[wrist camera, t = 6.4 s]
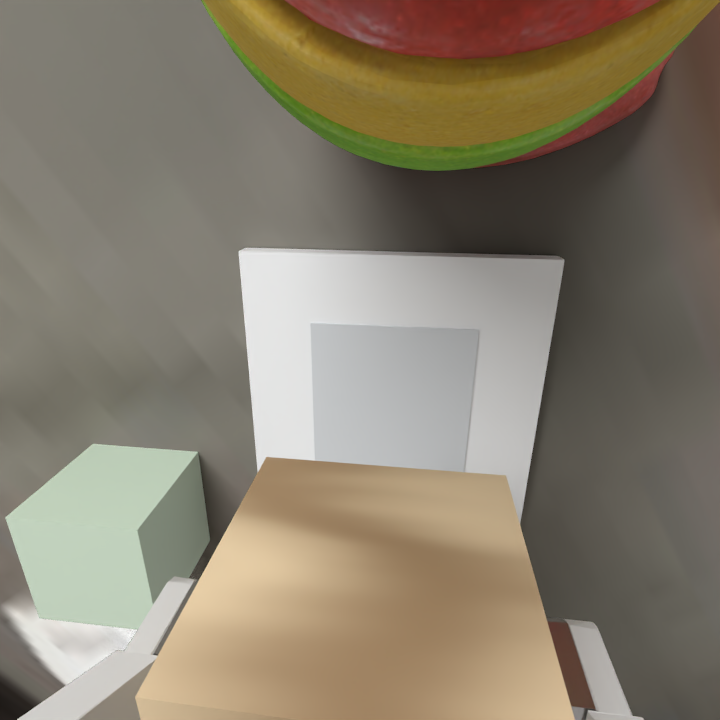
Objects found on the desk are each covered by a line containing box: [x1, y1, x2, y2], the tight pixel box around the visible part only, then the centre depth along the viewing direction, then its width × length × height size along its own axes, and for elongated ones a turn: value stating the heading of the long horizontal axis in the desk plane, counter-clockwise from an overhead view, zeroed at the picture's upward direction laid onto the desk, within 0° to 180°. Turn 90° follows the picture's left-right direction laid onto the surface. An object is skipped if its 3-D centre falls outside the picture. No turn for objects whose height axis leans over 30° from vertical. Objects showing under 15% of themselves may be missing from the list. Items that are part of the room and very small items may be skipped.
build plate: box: [239, 248, 565, 523], centre depth 18 cm, size 11×11×1 cm
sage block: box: [5, 444, 210, 630], centre depth 20 cm, size 5×5×5 cm
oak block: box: [135, 457, 575, 720], centre depth 8 cm, size 5×5×5 cm
